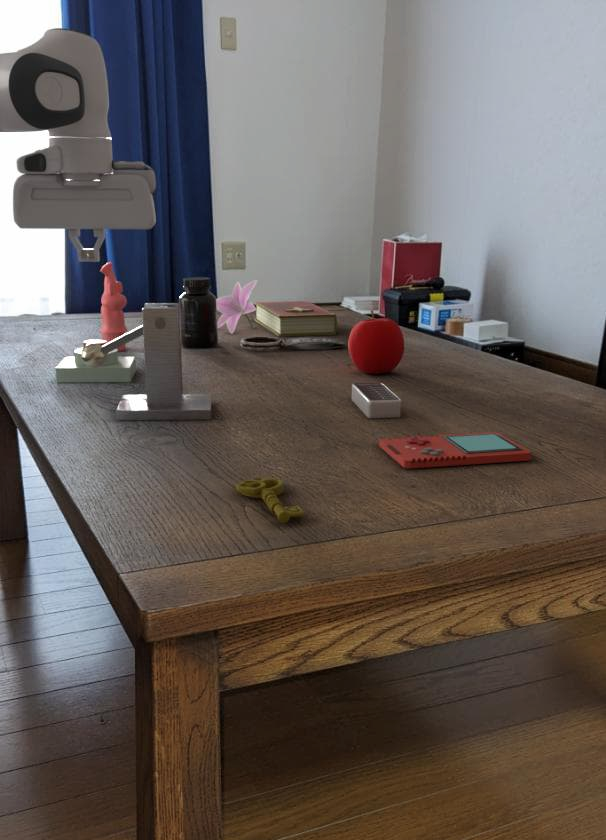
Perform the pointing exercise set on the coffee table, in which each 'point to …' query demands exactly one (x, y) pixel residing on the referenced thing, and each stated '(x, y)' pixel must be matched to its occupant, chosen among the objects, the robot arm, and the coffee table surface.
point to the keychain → (290, 343)
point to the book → (295, 318)
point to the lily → (235, 305)
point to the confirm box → (96, 369)
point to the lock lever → (106, 348)
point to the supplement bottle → (198, 314)
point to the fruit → (376, 345)
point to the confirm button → (101, 342)
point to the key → (269, 496)
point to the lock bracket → (163, 372)
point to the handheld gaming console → (454, 450)
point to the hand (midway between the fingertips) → (89, 261)
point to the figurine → (112, 307)
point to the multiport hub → (376, 400)
